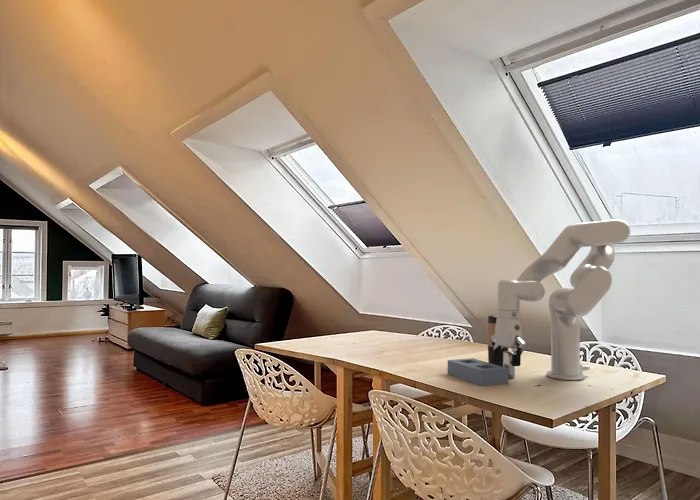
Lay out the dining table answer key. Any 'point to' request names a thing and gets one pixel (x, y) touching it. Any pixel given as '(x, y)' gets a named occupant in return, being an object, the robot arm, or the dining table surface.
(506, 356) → the bushing
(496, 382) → the block
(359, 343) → the dining table surface
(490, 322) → the travel mug
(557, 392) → the dining table surface
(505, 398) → the dining table surface
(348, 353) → the dining table surface
